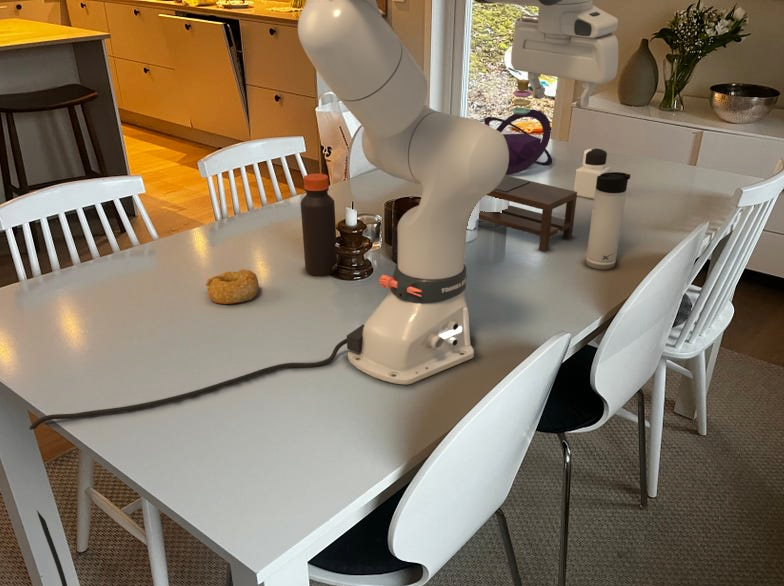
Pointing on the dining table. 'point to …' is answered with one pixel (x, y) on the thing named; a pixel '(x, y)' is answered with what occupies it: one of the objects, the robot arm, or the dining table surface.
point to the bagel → (233, 287)
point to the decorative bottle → (524, 134)
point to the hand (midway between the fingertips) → (559, 102)
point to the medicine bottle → (590, 172)
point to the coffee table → (537, 198)
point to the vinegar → (318, 226)
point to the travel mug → (606, 220)
